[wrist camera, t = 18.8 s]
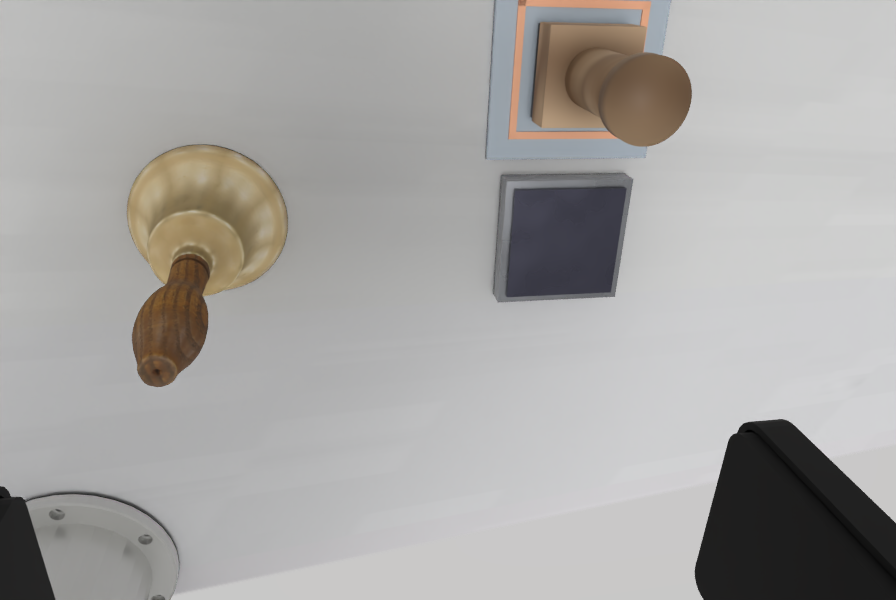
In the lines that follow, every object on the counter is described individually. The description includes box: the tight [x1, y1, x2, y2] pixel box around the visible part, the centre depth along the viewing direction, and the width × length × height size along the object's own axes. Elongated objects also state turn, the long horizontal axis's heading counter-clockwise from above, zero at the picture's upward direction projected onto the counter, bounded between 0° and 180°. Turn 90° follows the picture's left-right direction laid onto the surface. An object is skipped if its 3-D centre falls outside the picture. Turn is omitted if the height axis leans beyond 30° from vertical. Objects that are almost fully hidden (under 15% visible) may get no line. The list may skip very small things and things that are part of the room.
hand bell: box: [127, 145, 288, 387], centre depth 30 cm, size 8×8×16 cm
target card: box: [486, 0, 671, 160], centre depth 37 cm, size 10×10×1 cm
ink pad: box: [493, 173, 633, 302], centre depth 41 cm, size 8×8×2 cm
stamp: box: [531, 22, 692, 147], centre depth 33 cm, size 5×5×9 cm
